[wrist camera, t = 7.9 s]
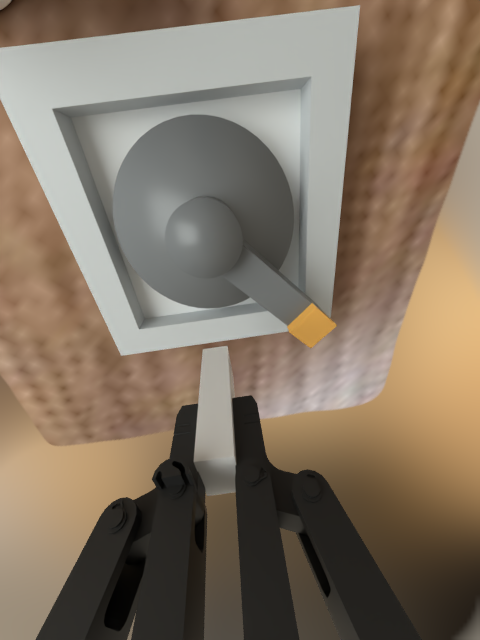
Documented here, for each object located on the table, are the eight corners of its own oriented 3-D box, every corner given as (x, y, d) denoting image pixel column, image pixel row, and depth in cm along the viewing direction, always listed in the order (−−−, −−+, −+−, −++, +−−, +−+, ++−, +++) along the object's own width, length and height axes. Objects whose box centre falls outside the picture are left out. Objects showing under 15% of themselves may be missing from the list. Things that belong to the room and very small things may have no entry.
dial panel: (31, 81, 15) (-27, 48, 12) (328, 44, 16) (362, 2, 12) (134, 332, 25) (120, 356, 22) (314, 306, 26) (330, 326, 22)
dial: (91, 237, 18) (40, 258, 13) (185, 64, 14) (166, -10, 9) (254, 345, 25) (265, 389, 20) (352, 250, 21) (399, 272, 15)
